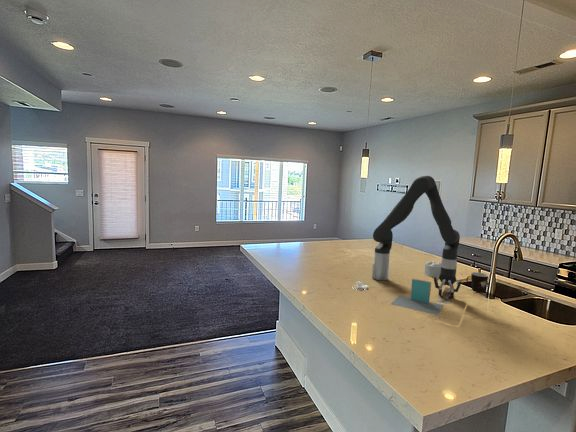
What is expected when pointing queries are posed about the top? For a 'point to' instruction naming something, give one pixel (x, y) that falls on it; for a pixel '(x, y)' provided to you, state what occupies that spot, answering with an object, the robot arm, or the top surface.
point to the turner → (445, 296)
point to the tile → (420, 290)
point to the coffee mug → (478, 281)
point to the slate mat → (418, 305)
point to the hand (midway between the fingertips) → (445, 297)
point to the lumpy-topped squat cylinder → (432, 269)
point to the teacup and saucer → (360, 285)
